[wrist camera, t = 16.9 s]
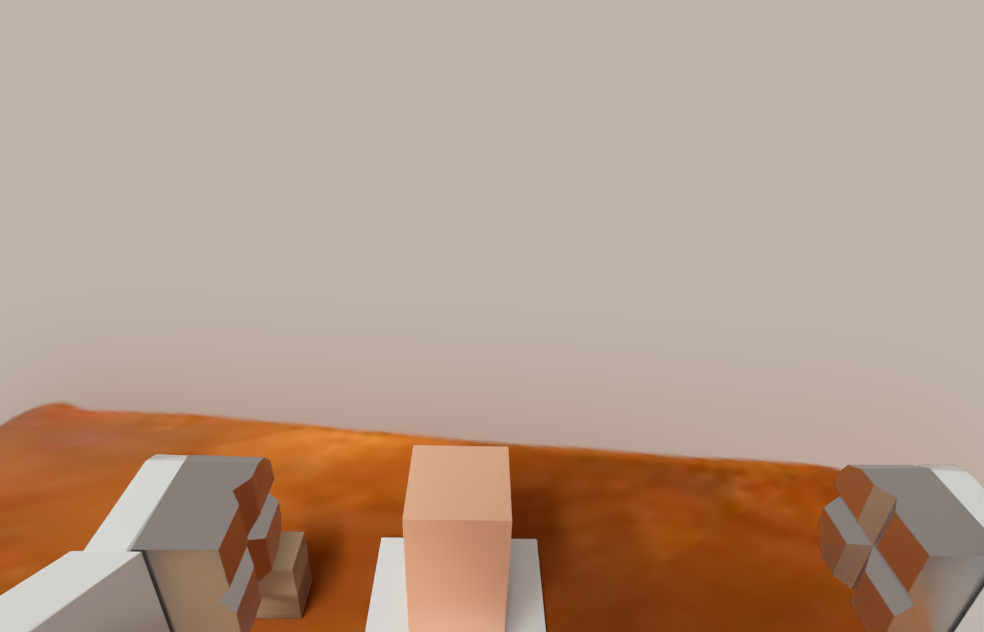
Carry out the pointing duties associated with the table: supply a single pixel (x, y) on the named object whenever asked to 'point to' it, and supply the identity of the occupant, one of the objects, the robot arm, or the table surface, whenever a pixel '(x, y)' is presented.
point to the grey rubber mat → (523, 590)
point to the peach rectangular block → (457, 538)
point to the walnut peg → (287, 580)
